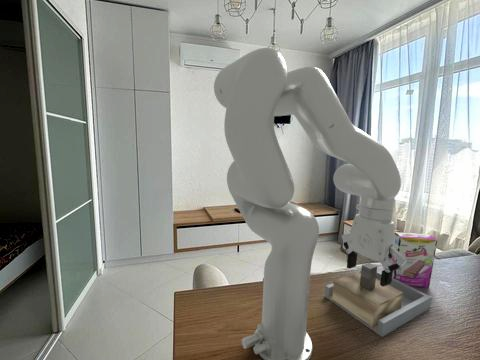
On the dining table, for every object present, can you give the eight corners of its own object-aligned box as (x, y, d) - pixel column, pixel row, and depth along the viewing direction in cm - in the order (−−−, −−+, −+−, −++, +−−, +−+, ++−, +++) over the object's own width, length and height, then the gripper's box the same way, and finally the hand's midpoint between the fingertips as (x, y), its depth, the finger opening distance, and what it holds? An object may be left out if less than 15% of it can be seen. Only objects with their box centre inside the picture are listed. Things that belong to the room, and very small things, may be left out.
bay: (381, 336, 58) (383, 323, 58) (325, 296, 73) (326, 285, 72) (429, 308, 69) (431, 296, 68) (371, 278, 83) (373, 268, 83)
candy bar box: (393, 286, 79) (399, 236, 77) (385, 277, 84) (391, 231, 82) (430, 289, 78) (438, 239, 76) (420, 280, 83) (428, 233, 81)
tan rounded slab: (372, 327, 60) (377, 282, 58) (331, 298, 71) (335, 260, 69) (400, 311, 66) (406, 271, 64) (359, 287, 76) (363, 252, 75)
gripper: (337, 206, 70) (331, 264, 72) (402, 225, 55) (391, 297, 57) (355, 204, 73) (348, 259, 76) (420, 221, 59) (409, 289, 61)
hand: (367, 275), depth 67 cm, fingers open, 9 cm apart
